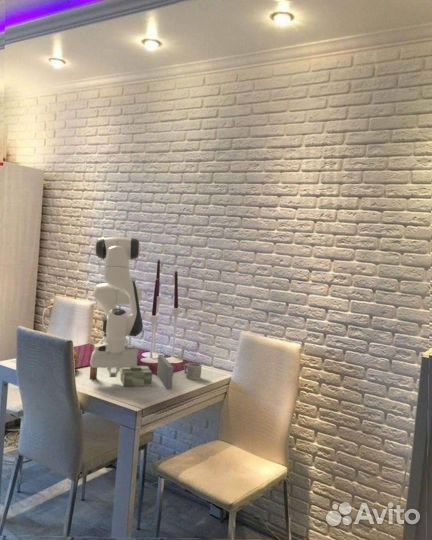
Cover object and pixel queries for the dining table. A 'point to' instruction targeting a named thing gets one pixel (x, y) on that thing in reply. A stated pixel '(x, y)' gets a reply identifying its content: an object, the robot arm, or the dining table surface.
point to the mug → (193, 371)
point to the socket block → (136, 376)
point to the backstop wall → (165, 372)
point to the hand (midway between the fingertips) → (112, 377)
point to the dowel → (93, 373)
